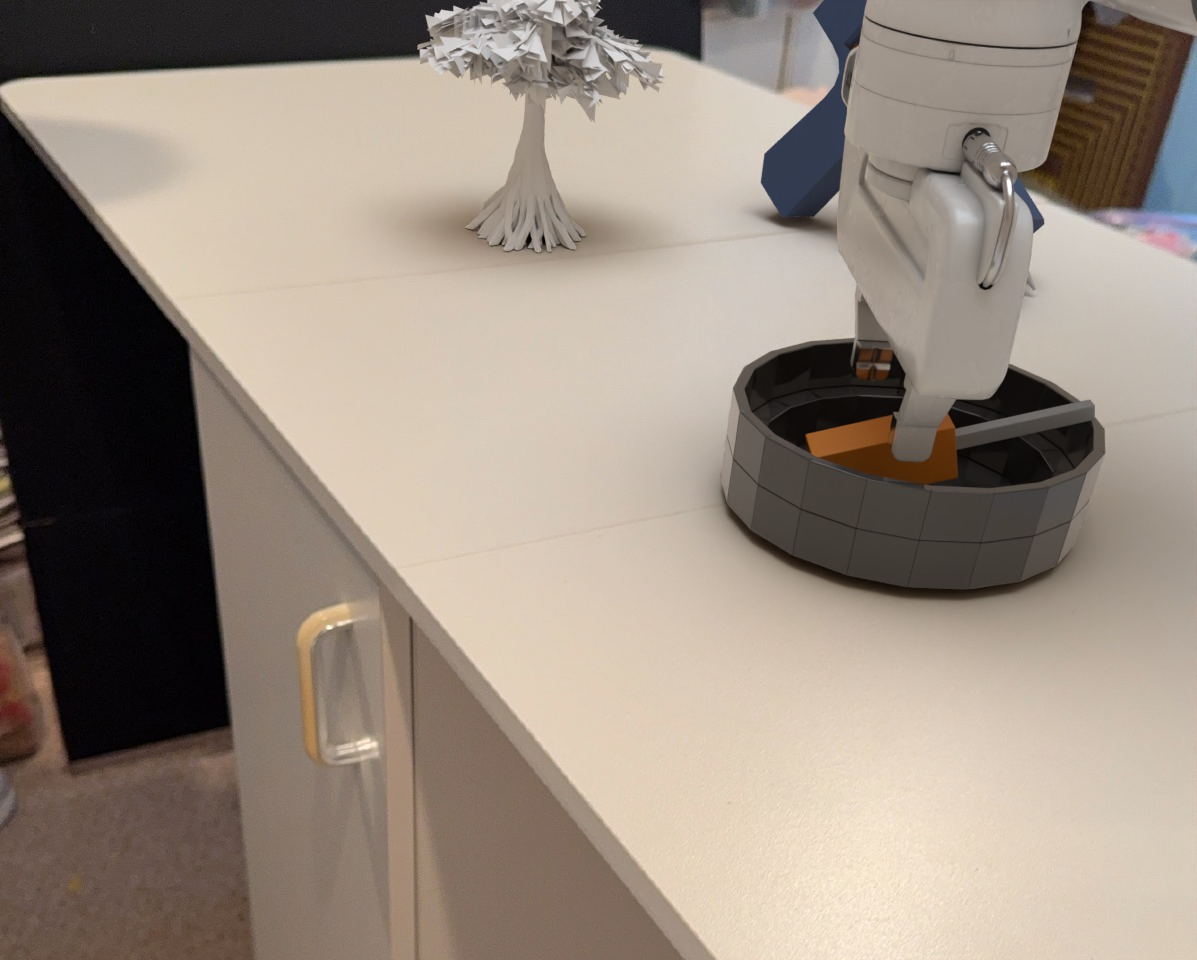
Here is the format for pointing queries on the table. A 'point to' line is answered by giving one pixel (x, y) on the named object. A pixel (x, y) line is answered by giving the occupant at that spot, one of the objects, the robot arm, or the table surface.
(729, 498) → the bowl
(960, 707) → the table surface
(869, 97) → the robot arm
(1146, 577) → the table surface
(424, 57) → the tree
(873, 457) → the screwdriver
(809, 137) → the glue gun
